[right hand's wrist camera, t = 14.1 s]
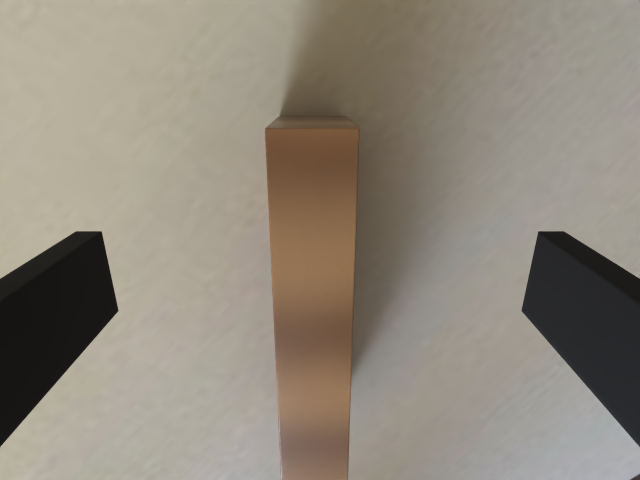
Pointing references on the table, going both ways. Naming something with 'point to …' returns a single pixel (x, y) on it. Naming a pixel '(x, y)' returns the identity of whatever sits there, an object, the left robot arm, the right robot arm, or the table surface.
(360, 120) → the table surface
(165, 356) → the table surface
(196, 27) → the table surface
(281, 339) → the bar
